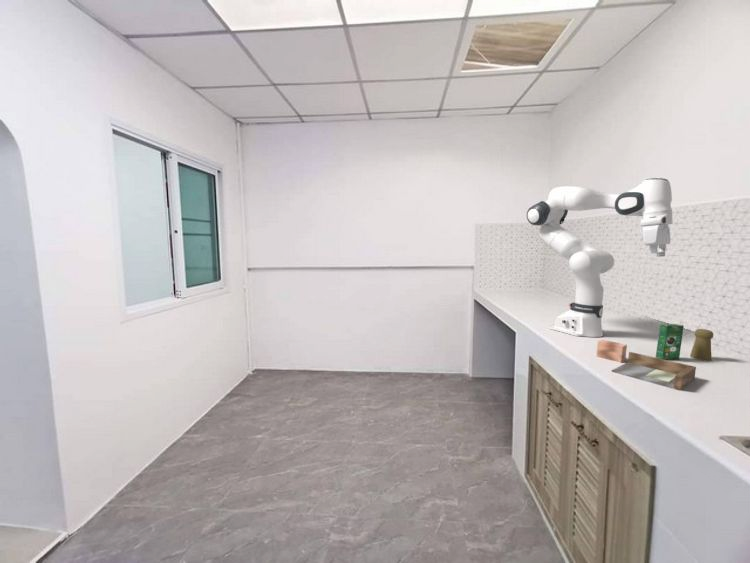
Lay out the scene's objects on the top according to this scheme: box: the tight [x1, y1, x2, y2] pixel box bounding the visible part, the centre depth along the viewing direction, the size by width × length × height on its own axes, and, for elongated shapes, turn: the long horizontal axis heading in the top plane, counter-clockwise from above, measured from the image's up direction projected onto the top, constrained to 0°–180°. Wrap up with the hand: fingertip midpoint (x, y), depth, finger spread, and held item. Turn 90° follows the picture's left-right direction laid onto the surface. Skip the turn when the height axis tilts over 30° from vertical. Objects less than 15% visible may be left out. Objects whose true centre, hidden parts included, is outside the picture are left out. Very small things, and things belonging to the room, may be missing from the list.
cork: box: [689, 328, 714, 362], centre depth 133 cm, size 6×6×11 cm
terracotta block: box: [596, 339, 628, 364], centre depth 130 cm, size 8×4×6 cm, turn 36°
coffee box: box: [655, 323, 684, 360], centre depth 132 cm, size 8×3×13 cm, turn 101°
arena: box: [611, 351, 697, 391], centre depth 115 cm, size 18×16×4 cm
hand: (658, 257), depth 135 cm, fingers open, 8 cm apart
